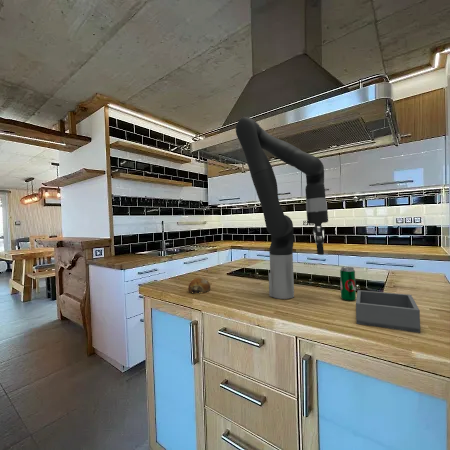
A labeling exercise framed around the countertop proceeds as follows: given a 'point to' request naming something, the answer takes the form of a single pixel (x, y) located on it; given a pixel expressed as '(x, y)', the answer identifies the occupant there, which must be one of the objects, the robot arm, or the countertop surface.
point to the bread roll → (199, 285)
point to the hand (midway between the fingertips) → (320, 253)
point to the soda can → (348, 283)
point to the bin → (387, 310)
